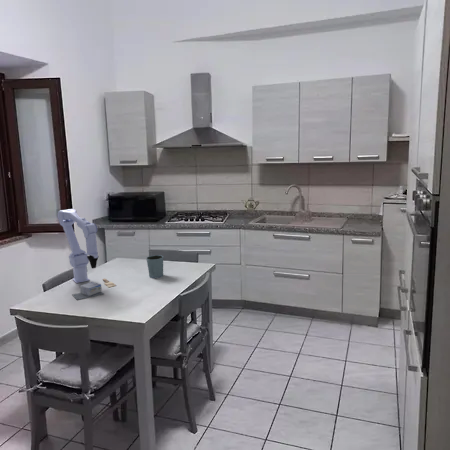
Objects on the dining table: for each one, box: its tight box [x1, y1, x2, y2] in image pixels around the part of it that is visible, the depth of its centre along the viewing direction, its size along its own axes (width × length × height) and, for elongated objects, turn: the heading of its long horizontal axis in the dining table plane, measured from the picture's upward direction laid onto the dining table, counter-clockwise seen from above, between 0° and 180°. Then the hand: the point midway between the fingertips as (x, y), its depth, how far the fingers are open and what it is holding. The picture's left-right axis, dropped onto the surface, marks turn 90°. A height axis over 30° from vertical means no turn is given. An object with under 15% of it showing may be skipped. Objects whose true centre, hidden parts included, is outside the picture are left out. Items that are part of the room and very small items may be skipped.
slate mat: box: [72, 292, 104, 301], centre depth 217 cm, size 10×14×1 cm
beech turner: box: [102, 278, 117, 288], centre depth 235 cm, size 15×4×1 cm, turn 34°
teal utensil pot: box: [146, 254, 164, 279], centre depth 245 cm, size 10×10×12 cm
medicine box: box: [79, 281, 103, 296], centre depth 219 cm, size 8×4×9 cm
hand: (93, 267), depth 231 cm, fingers closed
